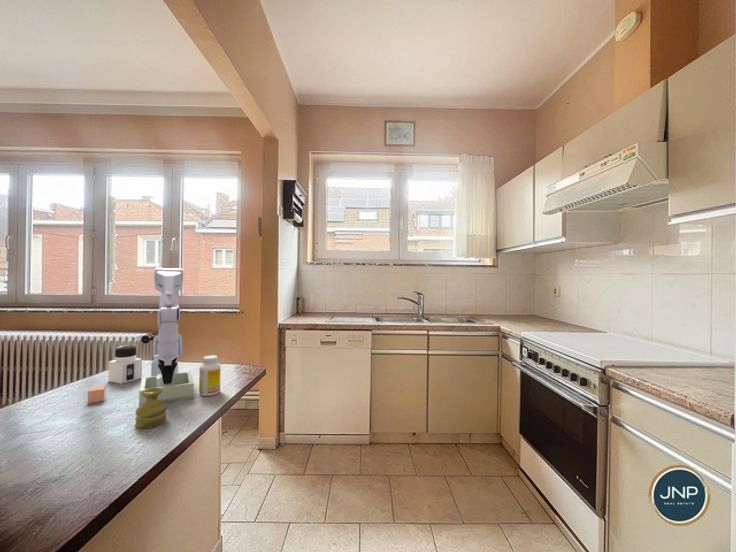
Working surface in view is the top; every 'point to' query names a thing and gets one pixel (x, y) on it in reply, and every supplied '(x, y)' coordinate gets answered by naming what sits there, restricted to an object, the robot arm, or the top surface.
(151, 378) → the tote
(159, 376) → the steel block
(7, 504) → the top surface
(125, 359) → the container
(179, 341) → the robot arm
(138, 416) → the brass calibration weight
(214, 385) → the supplement bottle
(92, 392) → the terracotta box
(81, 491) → the top surface
